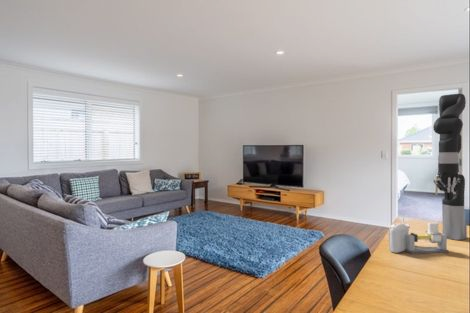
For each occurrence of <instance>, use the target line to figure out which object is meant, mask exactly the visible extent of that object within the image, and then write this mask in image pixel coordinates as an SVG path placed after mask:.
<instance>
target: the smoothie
mask: <svg viewBox="0 0 470 313" xmlns="http://www.w3.org/2000/svg"><path fill="white" fill-rule="evenodd" d="M404 216H405V215H404ZM404 216H402V217H401V218H402V224H405V225H406V227H407V234H409V233H410V232H409V231H410V228H411V227H410V225H409V224H407V223H405V217H404Z"/></svg>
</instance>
